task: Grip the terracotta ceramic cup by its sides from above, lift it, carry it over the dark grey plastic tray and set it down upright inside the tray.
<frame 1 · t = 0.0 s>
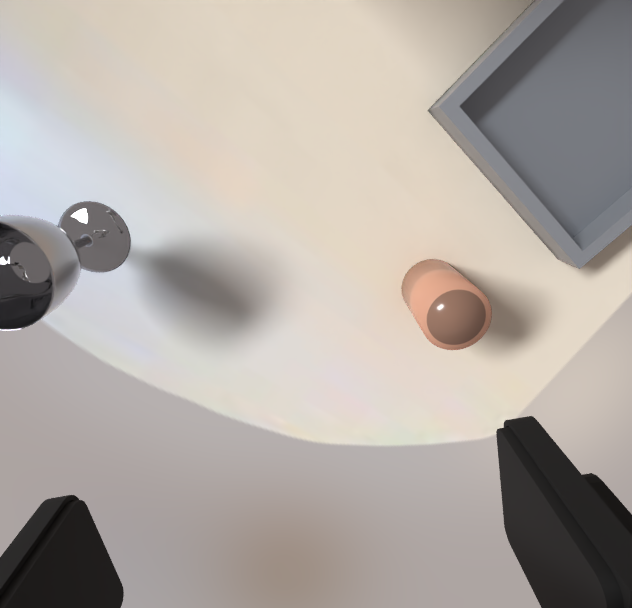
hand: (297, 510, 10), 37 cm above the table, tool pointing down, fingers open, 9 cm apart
tray: (590, 99, 42), on the table
wine glass: (94, 237, 46), on the table
cup: (430, 287, 47), on the table
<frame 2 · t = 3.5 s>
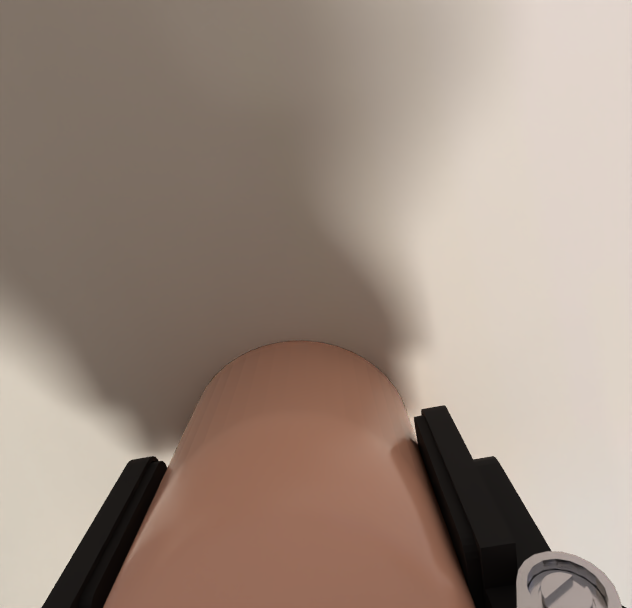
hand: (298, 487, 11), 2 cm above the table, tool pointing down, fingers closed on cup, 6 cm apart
cup: (301, 441, 13), on the table, touching gripper
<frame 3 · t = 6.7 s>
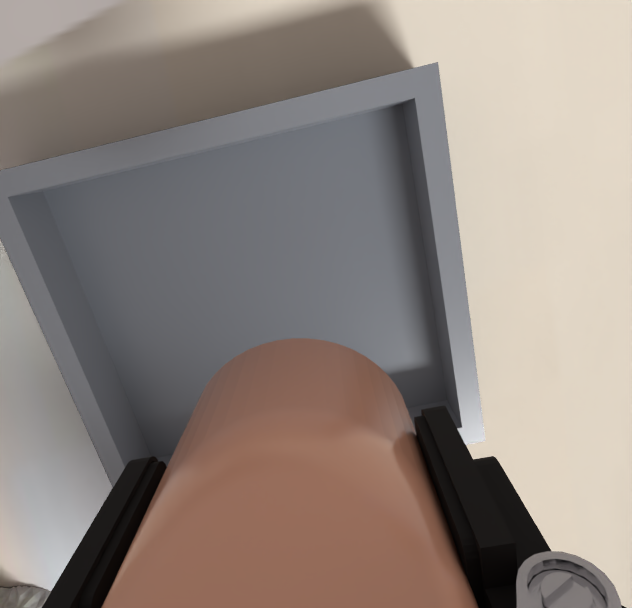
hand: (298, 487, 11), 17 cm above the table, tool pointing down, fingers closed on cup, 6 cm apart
tray: (263, 298, 28), on the table
cup: (301, 438, 13), point 16 cm above the table, touching gripper
when the fingers open (4 cm above the table, at t = 10.1 s): cup drops 1 cm, resting on tray.
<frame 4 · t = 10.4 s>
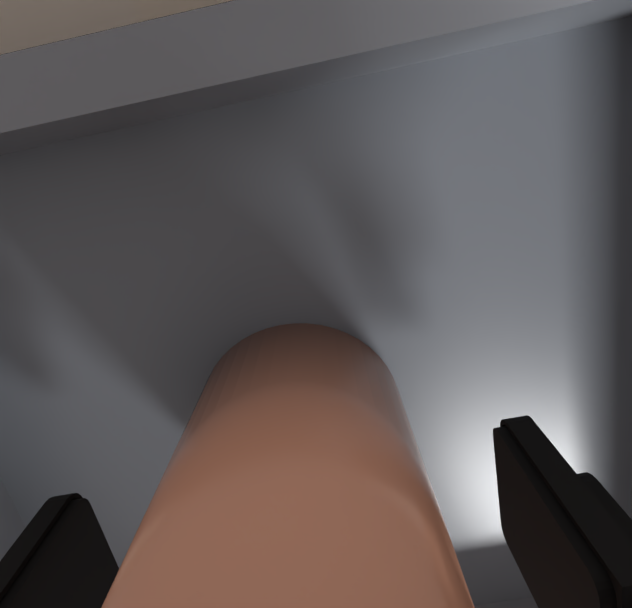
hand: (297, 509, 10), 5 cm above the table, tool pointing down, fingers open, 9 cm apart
tray: (302, 399, 15), on the table
cup: (301, 416, 14), point 1 cm above the table, touching tray
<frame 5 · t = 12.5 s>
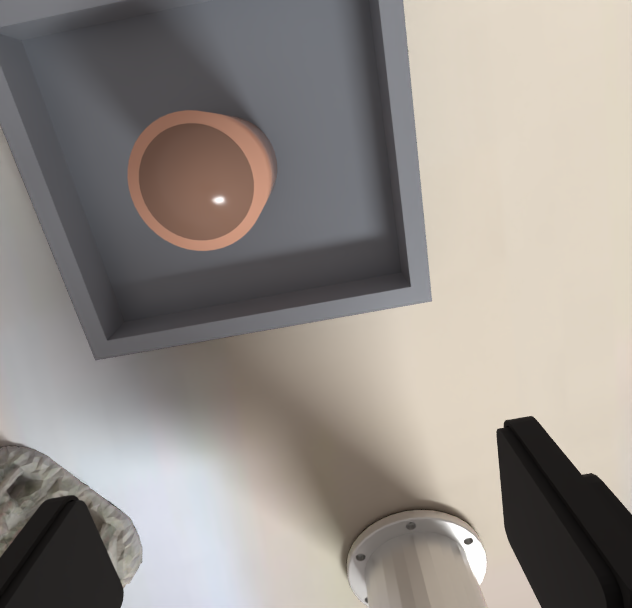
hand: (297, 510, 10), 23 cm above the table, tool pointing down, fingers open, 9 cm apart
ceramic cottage: (50, 518, 40), on the table
tray: (231, 166, 29), on the table
cup: (229, 167, 29), point 1 cm above the table, touching tray
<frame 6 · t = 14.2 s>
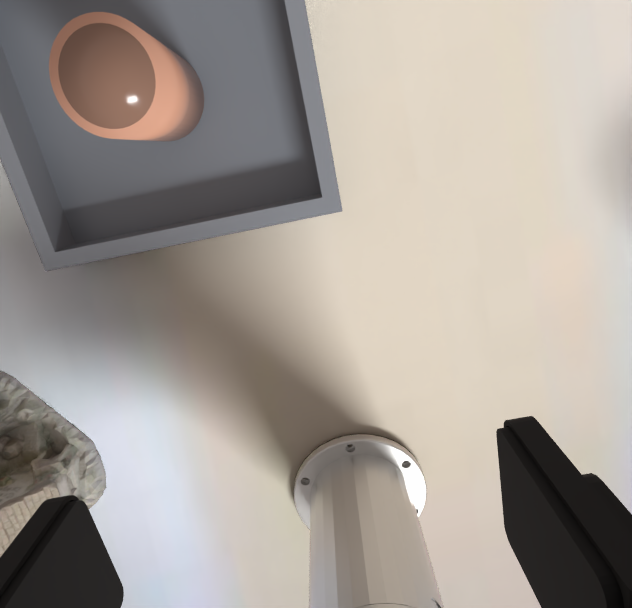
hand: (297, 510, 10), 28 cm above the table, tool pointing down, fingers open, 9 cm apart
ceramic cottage: (20, 443, 43), on the table
tray: (166, 98, 33), on the table
cup: (161, 96, 32), point 1 cm above the table, touching tray
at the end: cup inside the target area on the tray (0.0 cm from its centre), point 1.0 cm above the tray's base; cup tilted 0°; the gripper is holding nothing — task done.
